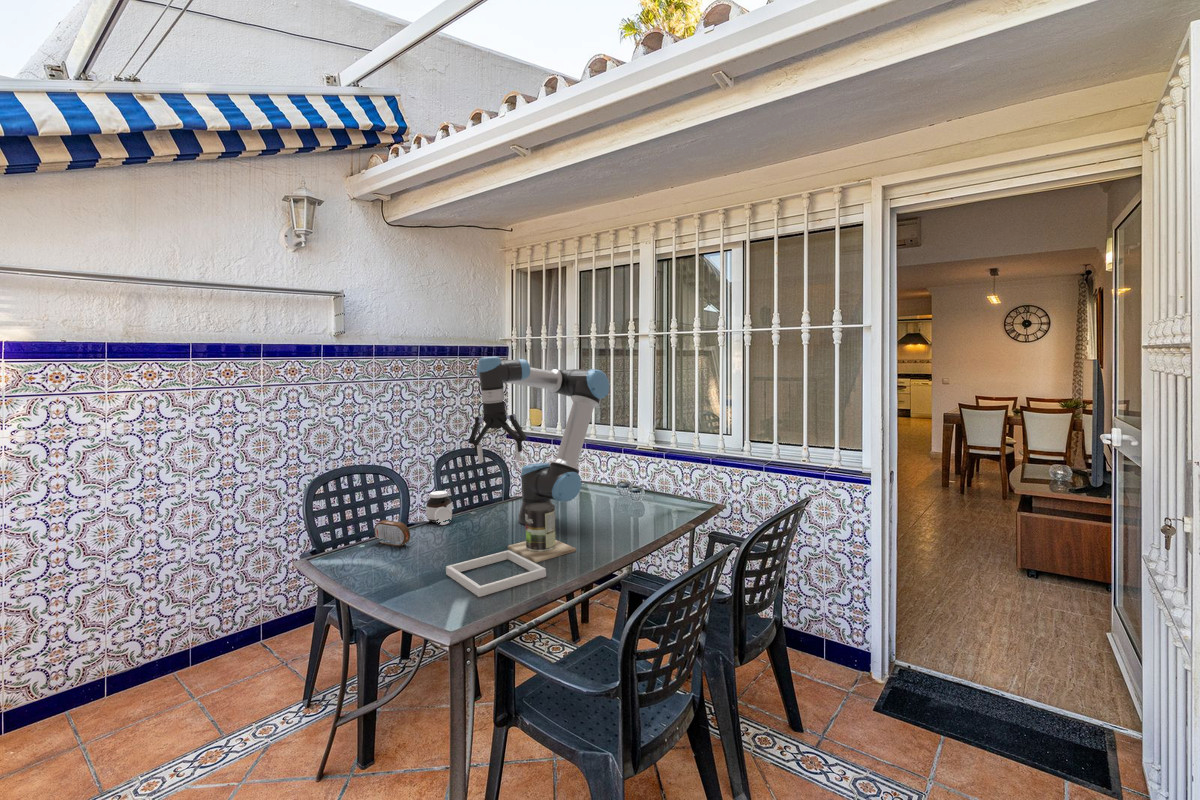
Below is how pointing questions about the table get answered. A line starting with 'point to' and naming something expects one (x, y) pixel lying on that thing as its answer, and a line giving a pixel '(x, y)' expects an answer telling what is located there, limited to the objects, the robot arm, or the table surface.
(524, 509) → the robot arm
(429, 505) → the spread jar
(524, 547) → the board
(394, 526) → the tin
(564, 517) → the table surface
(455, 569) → the white square frame
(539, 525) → the coffee can
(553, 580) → the table surface
